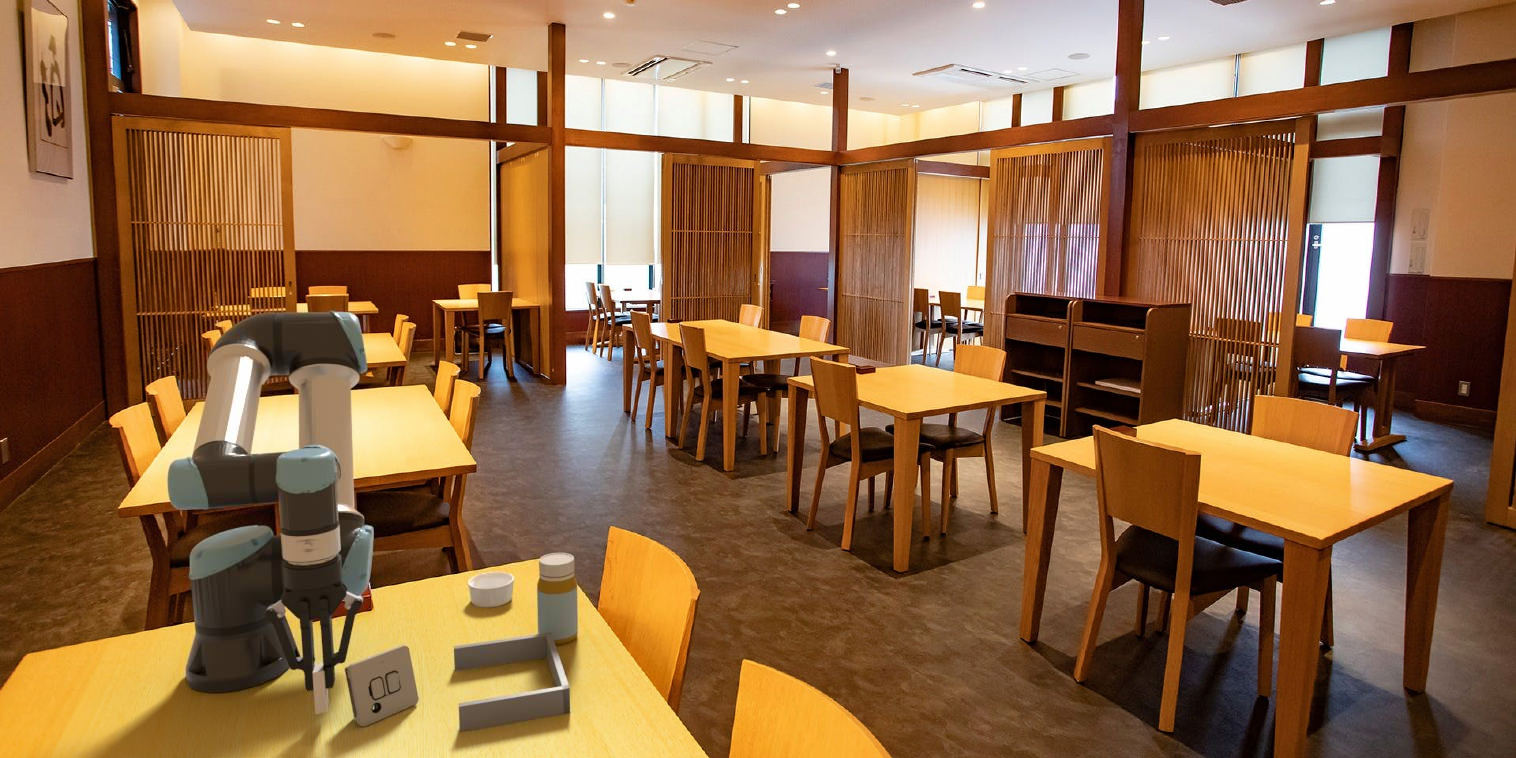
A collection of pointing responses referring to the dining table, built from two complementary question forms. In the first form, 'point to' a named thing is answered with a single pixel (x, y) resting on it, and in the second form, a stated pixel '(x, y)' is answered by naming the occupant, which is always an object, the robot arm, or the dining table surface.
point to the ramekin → (491, 589)
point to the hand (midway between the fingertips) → (322, 708)
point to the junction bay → (520, 703)
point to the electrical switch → (381, 685)
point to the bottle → (557, 597)
